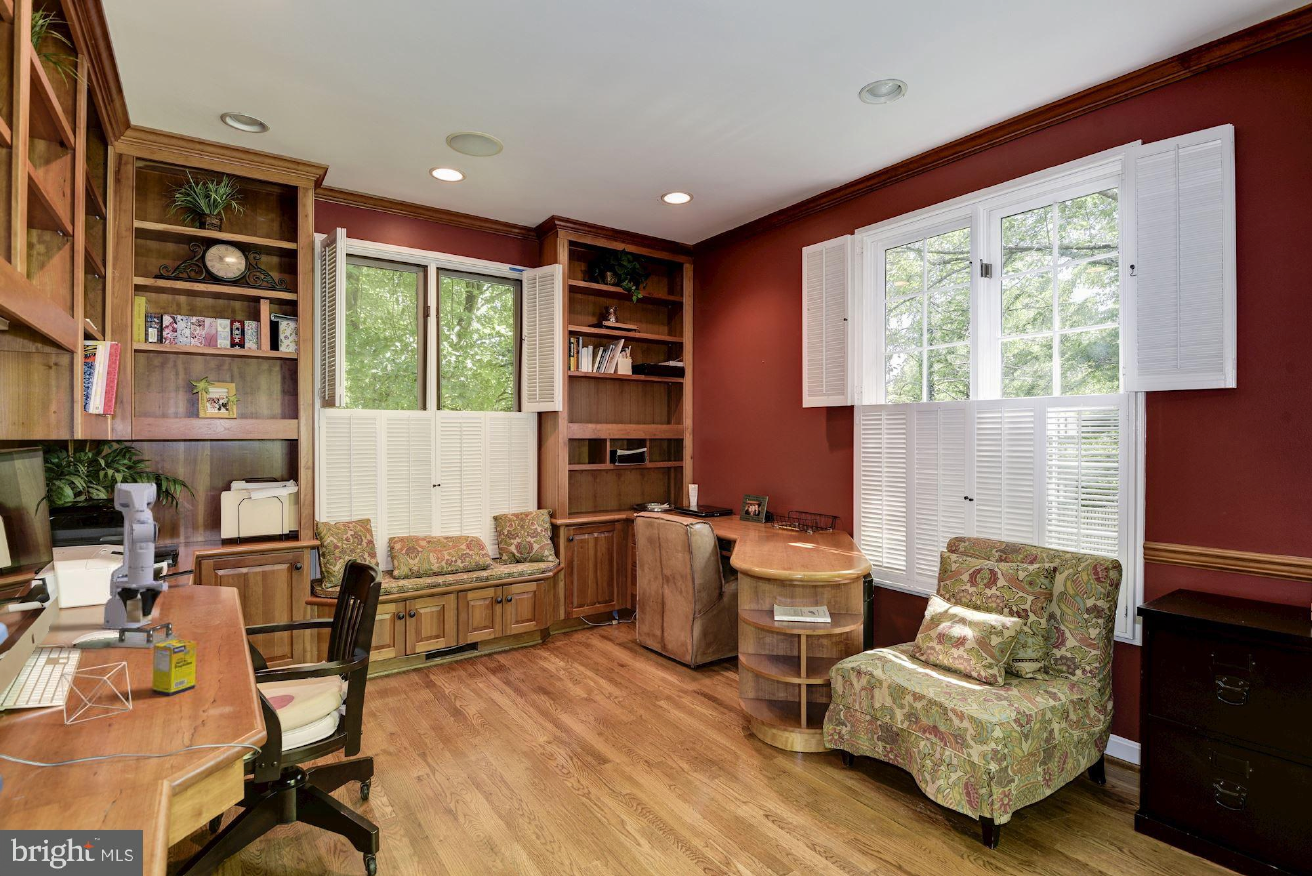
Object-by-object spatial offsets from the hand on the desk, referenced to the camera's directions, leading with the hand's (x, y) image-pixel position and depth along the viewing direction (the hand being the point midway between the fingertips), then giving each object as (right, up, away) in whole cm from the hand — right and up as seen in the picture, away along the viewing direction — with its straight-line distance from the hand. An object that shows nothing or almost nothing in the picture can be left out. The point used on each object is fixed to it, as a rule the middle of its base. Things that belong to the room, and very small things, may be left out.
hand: (138, 615), depth 187 cm
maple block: (0, -2, 0) cm, 2 cm away
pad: (-11, -8, +3) cm, 14 cm away
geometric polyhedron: (+27, -9, -46) cm, 54 cm away
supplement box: (+33, -9, -32) cm, 47 cm away
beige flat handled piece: (-1, -8, +4) cm, 9 cm away
